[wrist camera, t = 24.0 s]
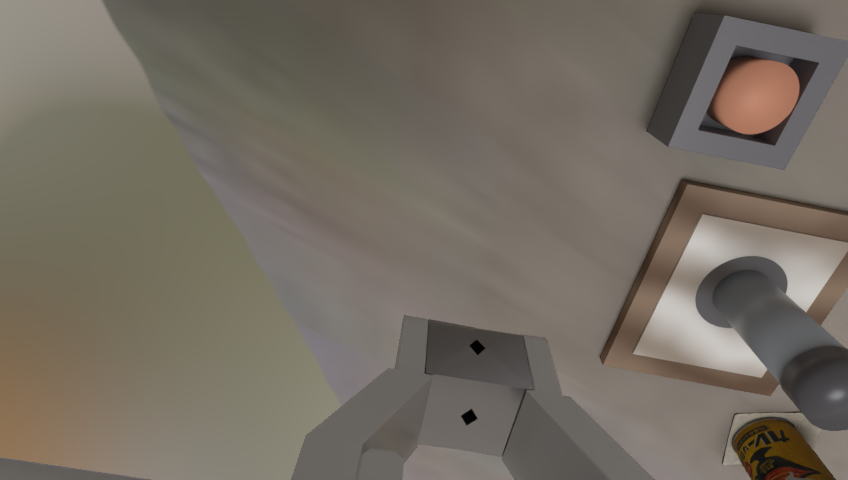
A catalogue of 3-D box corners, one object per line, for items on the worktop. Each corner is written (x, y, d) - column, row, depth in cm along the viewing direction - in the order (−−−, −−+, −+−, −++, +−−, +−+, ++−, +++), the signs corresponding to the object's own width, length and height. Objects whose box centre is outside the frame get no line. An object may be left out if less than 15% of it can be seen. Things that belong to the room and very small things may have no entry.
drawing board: (682, 179, 37) (689, 185, 36) (881, 219, 37) (894, 226, 36) (600, 357, 45) (603, 367, 44) (764, 388, 46) (772, 398, 44)
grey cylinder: (726, 264, 38) (831, 368, 28) (782, 274, 39) (907, 381, 28) (701, 310, 41) (790, 424, 30) (754, 319, 41) (861, 436, 30)
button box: (694, 12, 32) (724, 15, 28) (811, 37, 32) (855, 42, 28) (646, 131, 35) (668, 146, 32) (751, 152, 36) (784, 170, 32)
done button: (721, 49, 31) (743, 54, 29) (787, 63, 31) (814, 69, 29) (692, 117, 33) (709, 127, 31) (753, 130, 33) (776, 140, 31)
